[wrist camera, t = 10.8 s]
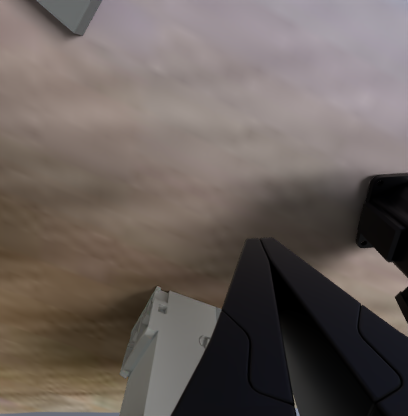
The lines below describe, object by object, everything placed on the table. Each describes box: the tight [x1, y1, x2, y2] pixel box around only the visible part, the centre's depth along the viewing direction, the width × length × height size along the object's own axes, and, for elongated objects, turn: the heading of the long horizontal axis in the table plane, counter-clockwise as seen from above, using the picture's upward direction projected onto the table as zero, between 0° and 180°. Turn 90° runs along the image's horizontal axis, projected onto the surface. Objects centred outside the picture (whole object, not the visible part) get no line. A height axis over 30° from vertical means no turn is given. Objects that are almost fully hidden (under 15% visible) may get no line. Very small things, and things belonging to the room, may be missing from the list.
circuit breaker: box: [119, 286, 221, 416], centre depth 22 cm, size 8×14×15 cm, turn 63°
